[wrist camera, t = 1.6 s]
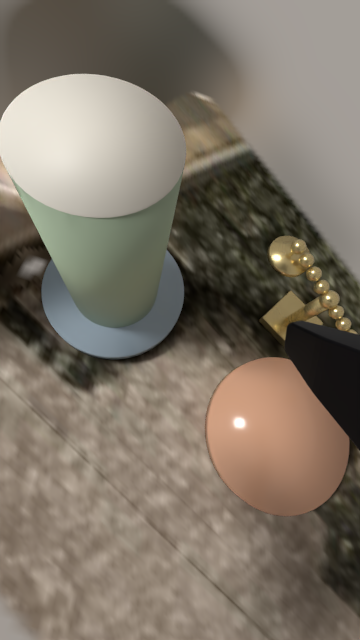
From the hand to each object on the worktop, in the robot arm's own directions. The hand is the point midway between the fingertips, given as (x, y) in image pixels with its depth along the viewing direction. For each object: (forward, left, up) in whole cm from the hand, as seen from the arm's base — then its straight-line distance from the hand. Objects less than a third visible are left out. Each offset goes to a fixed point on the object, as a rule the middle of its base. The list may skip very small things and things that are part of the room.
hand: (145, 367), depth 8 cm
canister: (+4, +7, -12) cm, 14 cm away
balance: (+13, -4, -13) cm, 18 cm away
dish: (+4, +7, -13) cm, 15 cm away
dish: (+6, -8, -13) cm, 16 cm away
